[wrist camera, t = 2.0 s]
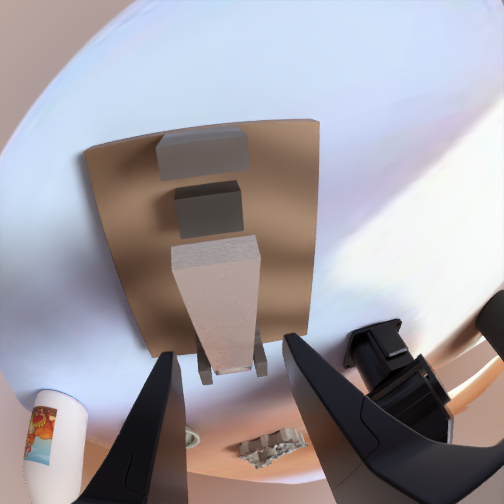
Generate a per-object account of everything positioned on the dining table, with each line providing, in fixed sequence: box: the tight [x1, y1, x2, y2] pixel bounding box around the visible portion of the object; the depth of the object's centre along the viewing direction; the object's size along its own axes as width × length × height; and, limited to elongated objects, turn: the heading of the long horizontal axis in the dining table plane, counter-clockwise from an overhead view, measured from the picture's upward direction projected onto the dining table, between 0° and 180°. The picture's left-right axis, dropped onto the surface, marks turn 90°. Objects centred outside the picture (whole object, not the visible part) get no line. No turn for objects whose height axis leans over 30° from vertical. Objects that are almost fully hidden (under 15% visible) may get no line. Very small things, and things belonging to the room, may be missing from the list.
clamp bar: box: [171, 235, 261, 375], centre depth 16 cm, size 16×3×1 cm, turn 3°
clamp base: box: [84, 119, 320, 385], centre depth 19 cm, size 18×14×6 cm
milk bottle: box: [23, 390, 88, 504], centre depth 21 cm, size 8×8×20 cm
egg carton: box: [238, 427, 308, 469], centre depth 40 cm, size 11×8×4 cm
